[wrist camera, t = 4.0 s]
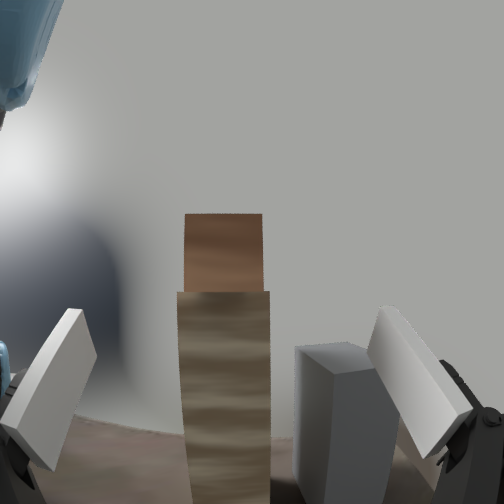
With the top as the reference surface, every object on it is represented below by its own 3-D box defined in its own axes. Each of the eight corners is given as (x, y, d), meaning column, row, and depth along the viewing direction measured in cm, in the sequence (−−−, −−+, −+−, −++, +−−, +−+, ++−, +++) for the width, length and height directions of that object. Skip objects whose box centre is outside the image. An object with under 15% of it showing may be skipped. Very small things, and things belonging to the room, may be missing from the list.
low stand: (379, 515, 24) (404, 362, 27) (319, 531, 23) (334, 374, 26) (338, 463, 40) (346, 341, 43) (292, 471, 39) (294, 346, 42)
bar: (263, 291, 15) (262, 214, 16) (184, 292, 15) (184, 214, 15) (237, 291, 41) (237, 262, 42) (207, 291, 41) (207, 262, 41)
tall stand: (269, 538, 23) (269, 291, 26) (199, 541, 22) (176, 291, 26) (254, 474, 38) (251, 291, 42) (204, 476, 38) (193, 291, 41)
